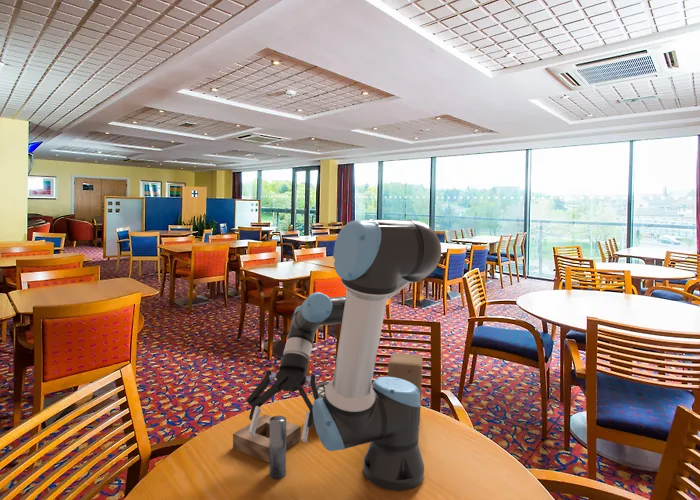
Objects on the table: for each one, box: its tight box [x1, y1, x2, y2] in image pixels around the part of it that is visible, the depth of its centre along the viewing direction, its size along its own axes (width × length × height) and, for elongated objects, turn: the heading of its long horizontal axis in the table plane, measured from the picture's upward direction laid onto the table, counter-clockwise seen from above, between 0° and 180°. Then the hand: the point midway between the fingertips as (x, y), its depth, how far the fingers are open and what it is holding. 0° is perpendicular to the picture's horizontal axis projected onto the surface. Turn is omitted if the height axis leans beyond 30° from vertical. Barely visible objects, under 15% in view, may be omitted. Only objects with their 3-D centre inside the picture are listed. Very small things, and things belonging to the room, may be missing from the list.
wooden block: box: [387, 352, 424, 424], centre depth 131 cm, size 10×10×20 cm
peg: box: [268, 415, 287, 480], centre depth 103 cm, size 4×4×14 cm
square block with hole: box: [232, 414, 301, 463], centre depth 117 cm, size 13×13×4 cm
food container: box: [312, 381, 330, 399], centre depth 131 cm, size 12×6×10 cm, turn 172°
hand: (277, 437), depth 104 cm, fingers open, 13 cm apart
